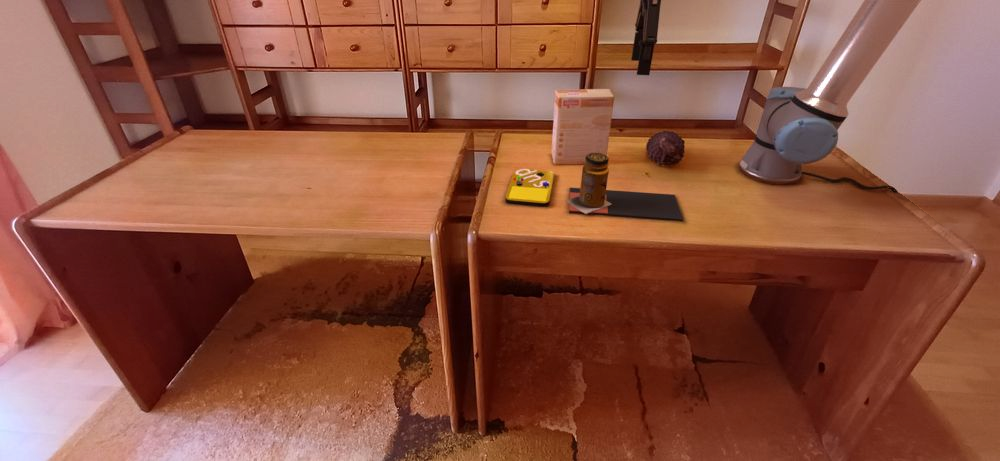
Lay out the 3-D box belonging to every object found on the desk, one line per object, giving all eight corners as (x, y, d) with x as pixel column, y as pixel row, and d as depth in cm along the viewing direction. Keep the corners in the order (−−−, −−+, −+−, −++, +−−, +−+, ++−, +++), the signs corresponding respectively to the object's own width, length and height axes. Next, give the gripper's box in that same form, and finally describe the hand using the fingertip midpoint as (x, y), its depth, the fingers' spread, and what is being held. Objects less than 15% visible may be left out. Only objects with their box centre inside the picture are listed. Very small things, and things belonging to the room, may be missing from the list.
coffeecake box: (600, 154, 142) (609, 88, 131) (606, 164, 136) (615, 96, 125) (550, 154, 141) (554, 88, 131) (553, 165, 135) (558, 96, 125)
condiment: (611, 204, 115) (618, 158, 108) (585, 214, 111) (591, 167, 104) (591, 192, 120) (596, 147, 113) (564, 201, 116) (569, 155, 109)
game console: (550, 207, 115) (550, 202, 114) (504, 203, 116) (504, 198, 115) (554, 174, 130) (554, 169, 129) (513, 171, 131) (513, 167, 130)
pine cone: (629, 151, 143) (647, 121, 141) (656, 166, 146) (674, 137, 143) (654, 160, 126) (674, 126, 124) (683, 177, 129) (704, 144, 127)
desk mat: (674, 196, 120) (674, 193, 119) (682, 221, 110) (683, 218, 109) (569, 189, 123) (570, 186, 122) (568, 213, 113) (569, 210, 112)
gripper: (632, -39, 113) (620, 54, 125) (644, -30, 92) (628, 80, 104) (665, -39, 112) (649, 55, 124) (684, -30, 92) (663, 82, 103)
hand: (639, 67), depth 114 cm, fingers open, 13 cm apart
